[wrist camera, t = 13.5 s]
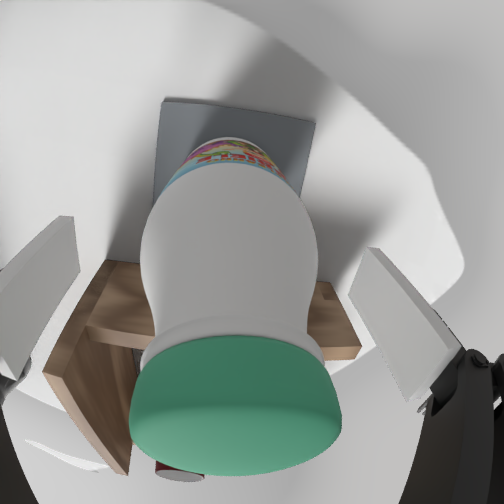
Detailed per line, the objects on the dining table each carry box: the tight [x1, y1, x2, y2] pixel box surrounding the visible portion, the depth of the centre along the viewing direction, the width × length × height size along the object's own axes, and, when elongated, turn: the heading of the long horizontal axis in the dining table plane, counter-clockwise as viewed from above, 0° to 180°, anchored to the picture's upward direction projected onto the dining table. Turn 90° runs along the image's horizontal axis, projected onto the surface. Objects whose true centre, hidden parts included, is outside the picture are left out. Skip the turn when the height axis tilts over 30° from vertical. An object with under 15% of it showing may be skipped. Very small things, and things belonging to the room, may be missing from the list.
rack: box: [42, 260, 362, 476], centre depth 26 cm, size 23×23×14 cm
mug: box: [155, 460, 204, 482], centre depth 37 cm, size 10×8×10 cm
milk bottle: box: [129, 137, 342, 476], centre depth 13 cm, size 8×8×20 cm
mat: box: [153, 102, 316, 206], centre depth 22 cm, size 12×12×1 cm
